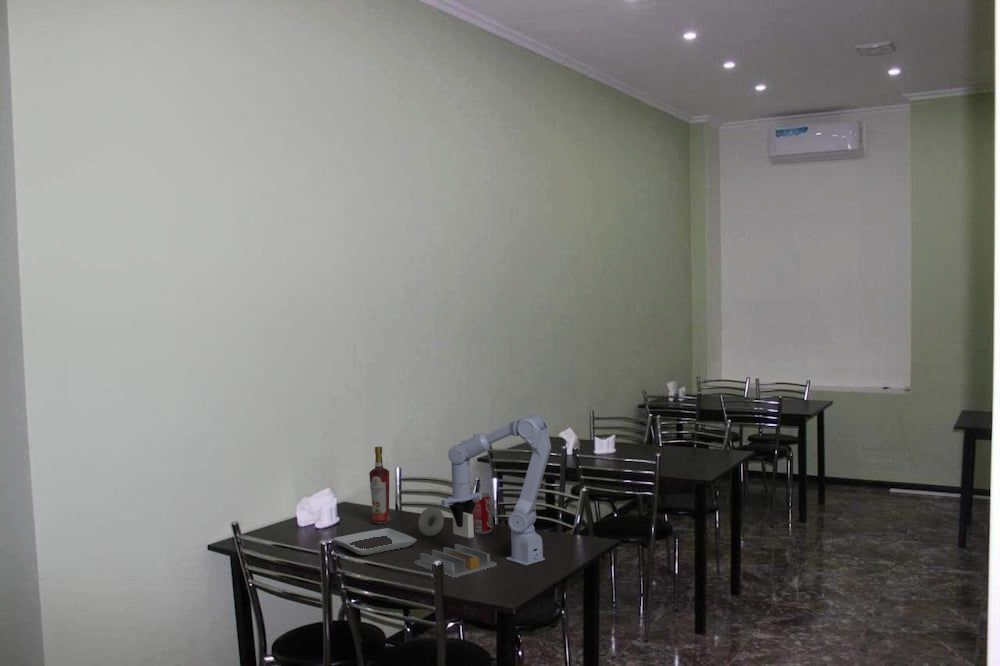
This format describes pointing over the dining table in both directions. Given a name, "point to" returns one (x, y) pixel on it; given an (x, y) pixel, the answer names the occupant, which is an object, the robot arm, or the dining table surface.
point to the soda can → (482, 515)
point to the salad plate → (397, 537)
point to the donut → (425, 518)
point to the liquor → (379, 489)
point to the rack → (457, 560)
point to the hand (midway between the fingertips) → (462, 525)
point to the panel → (464, 526)
